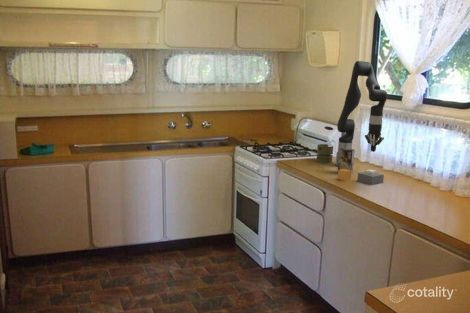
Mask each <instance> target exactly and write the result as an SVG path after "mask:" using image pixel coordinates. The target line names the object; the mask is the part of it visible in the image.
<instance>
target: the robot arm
mask: <svg viewBox="0 0 470 313" xmlns="http://www.w3.org/2000/svg"><path fill="white" fill-rule="evenodd" d="M359 77H367V78H366V79H365V87H366V89H367V91H368V99H369V100H370V101H371V102H377V104H375V105H374V104H373V105H371V107H370V113H369V120H368V132H367V134H365V135H364V137H365V140H366V142H367V144H368V145H370V150H369V151H370V152H376V151H377V150H376V149H377V146H378V145H380V144H381V143H382V142H383V141H384V139H385V137H383V136H382V133H381V132H382V128H383V114H384V112H383V111H384V107H385V104H386V101H387V99H388V92H387V90H385V89H381V87H380V86H381V85H380V84H379V82H378V81H377V78H376V75H375V72H374V67H373V65H372V63H371V62H369V61H362V60H361V61H360V60H358V61H356V62H355V63H354V65H353V67H352V72H351V78H350V83H349V86H348V89H347V92H346V96H345V100H344V103H343V107H342V110H341V112H340V115H339V119H338V121H337V125H336V126H337V127H336V128H337V131H338V132H339V133H344V135H342V136H340V137H339V138H338V147H337V148H338V149H337V152H336V155H335V156H336V157H335V166H336V167H338V159H339V149H341V148H345V149H353V140H354V135H355V127H356V123H355V120H354V119H351V118H349V116H350V115H351V113H352V112H353V111H355V109H356V108H358V106H359V104H360V101H361V98H362V91H361V88H360V87H359V83H358V82H359V81H358V80H359V79H358V78H359Z"/></svg>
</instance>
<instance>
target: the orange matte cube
mask: <svg viewBox="0 0 470 313" xmlns="http://www.w3.org/2000/svg"><path fill="white" fill-rule="evenodd" d="M337 175H338V176H337V180H339V179H340V180H339V181H343V180H344V182H346V181H347V182H348V181H351V180H352V175H351V170H347V169H341V170H338V169H337Z"/></svg>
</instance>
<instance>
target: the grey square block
mask: <svg viewBox="0 0 470 313" xmlns="http://www.w3.org/2000/svg"><path fill="white" fill-rule="evenodd" d="M384 177H385V176H384V173H379V172H376V174H375V175H369V174H366V171H363V172H362V171H361V172H357V180H356V181H357V182H359V183H364V184H368V185H371V186H372V185H377V184H378V185H379V184H382V183H384Z"/></svg>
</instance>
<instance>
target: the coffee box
mask: <svg viewBox="0 0 470 313" xmlns="http://www.w3.org/2000/svg"><path fill="white" fill-rule="evenodd" d="M354 161H355V149H354V148H352V149H345V148H341V149H339V159H338V166H337V171H338V170H341V169H347V170H351V176H352V175H353V174H354V165H355V164H354V163H355V162H354Z"/></svg>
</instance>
